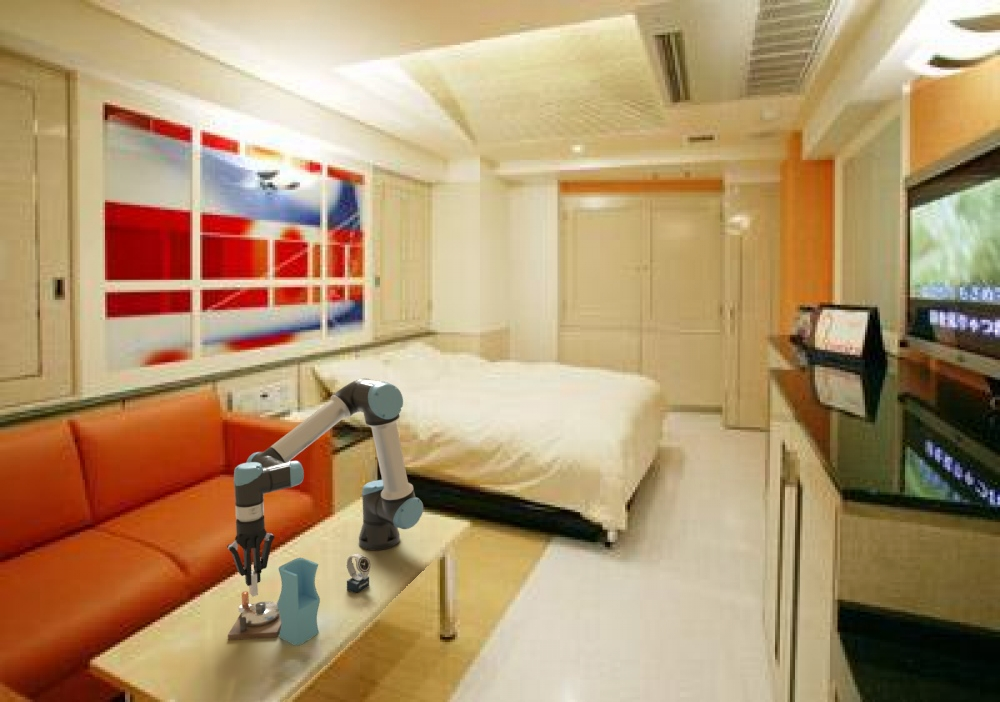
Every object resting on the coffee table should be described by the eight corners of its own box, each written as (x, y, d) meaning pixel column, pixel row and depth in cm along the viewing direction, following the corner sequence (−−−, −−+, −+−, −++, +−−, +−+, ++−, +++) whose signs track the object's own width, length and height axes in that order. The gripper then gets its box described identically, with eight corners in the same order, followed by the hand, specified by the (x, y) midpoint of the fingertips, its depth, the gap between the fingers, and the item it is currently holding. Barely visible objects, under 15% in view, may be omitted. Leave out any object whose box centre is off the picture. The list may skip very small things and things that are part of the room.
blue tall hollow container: (297, 646, 152) (294, 576, 150) (278, 637, 156) (275, 568, 154) (321, 631, 159) (318, 563, 156) (302, 622, 163) (299, 556, 161)
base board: (246, 608, 170) (246, 593, 169) (291, 606, 171) (290, 590, 170) (228, 639, 155) (227, 622, 154) (277, 637, 156) (276, 620, 156)
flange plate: (287, 611, 165) (286, 593, 165) (260, 629, 156) (259, 611, 155) (255, 601, 170) (254, 583, 170) (227, 618, 161) (226, 600, 161)
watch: (361, 595, 177) (360, 562, 176) (343, 588, 181) (342, 555, 180) (374, 587, 182) (373, 554, 181) (355, 580, 186) (354, 548, 185)
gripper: (230, 527, 157) (234, 607, 159) (277, 514, 166) (280, 591, 168) (222, 519, 162) (226, 596, 165) (268, 507, 171) (271, 581, 174)
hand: (253, 593), depth 167 cm, fingers closed
